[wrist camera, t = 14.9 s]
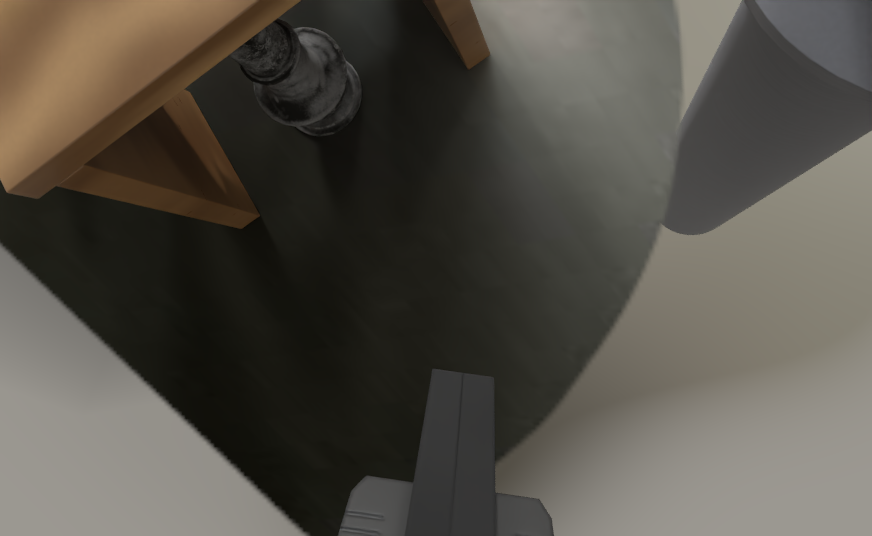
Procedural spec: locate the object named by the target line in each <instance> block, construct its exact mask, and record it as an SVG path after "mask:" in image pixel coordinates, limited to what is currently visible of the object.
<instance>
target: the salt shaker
mask: <svg viewBox="0 0 872 536" xmlns="http://www.w3.org/2000/svg"><path fill="white" fill-rule="evenodd" d="M228 56H230V57H231V58H232V59H234V60H235V61H237V62H238V63H239V65H240V68H241V70H242V71H243V73H244V74H245V76H246V77H247V78H249V79H250V80H251V81H252V82H254V92H255V95H256V98H257V101H258V103H259V105H260V106H261V108H262V109H263V111H264V112H265V113H266V114H267V115H268V116H270V117H271V118H272V119H273V120H275V121H277V122H279V123H282V124H284V125H289V126H295V127H297V128H298V129H299V130H300V131H302V132H304V133H306V134H309V135H313V136H327V135H332V134H334V133H336V132H339V131H341V130H342V129H343V128H344V127H346V126H347V125H348V124H349V123H350V122H351V121H352V119H353V118H354V117H355V116H356V113H357V111H358V109H359V107H360V103H361V98H362V86H361V82H360V79H359V76H358V74H357V72H356V71H355V69H354V68H353V66H352V65H351V64H349V63H348V62H347V61H346V60H345V57H344V54H343V51H342V50H341V48H340V47H339V45H338V44H337V42H336V41H335V40H334V39H333V38H331V37H330V36H329V35H328V34H326V33H325V32H322V31H320V30H317V29H315V28H306V27H301V28H295V29H293V28H292V27H291V26H290V25H289V24H288V23H286V22H285V21H282V20H280V19H276V20H275V21H273V22H272V23H271V24H269V25H268V26H267V27H265V28H264V29H263V30H261V31H260V32H259V33H257V34H256V35H255V36H253V37H252V38H251V39H249V40H248V41H247V42H245V43H244V44H243V45H241V46H240V47H239V48H237V49H236V50H235V51H233V52H232V53H231V54H230V55H228Z"/></svg>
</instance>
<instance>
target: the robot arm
mask: <svg viewBox="0 0 872 536" xmlns="http://www.w3.org/2000/svg"><path fill="white" fill-rule="evenodd" d="M338 536H554V534H553V526H552V519H551V517H550V515H549V514H548V512H547V511H546V509H545V508H544V506H543V504H542V503H541V501H540V500H539V499H534V498H528V497H521V496H514V495H507V494H500V493H495V421H494V377H489V376H482V375H474V374H467V373H460V372H453V371H446V370H439V369H432V375H431V381H430V387H429V393H428V399H427V405H426V411H425V417H424V423H423V429H422V435H421V441H420V447H419V453H418V459H417V465H416V471H415V477H414V482H407V481H400V480H394V479H387V478H380V477H373V476H365V477H364V478H363V479H362V480H361V481H360V482H359V484H358V485H357V486H356V487H355V488H354V489H353V490H352V491H351V493H350V497H349V500H348V504H347V507H346V510H345V514H344V517H343V520H342V524H341V528H340V530H339V534H338Z"/></svg>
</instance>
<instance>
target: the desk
mask: <svg viewBox="0 0 872 536" xmlns="http://www.w3.org/2000/svg"><path fill="white" fill-rule="evenodd" d="M300 1H301V0H0V180H1V182H2V184H3V186H4V188H5V190H6V192H7V193H10V194H15V195H20V196H25V197H30V198H35V199H39V198H40V197H42V196H43V195H44V194H46V193H47V192H48V191H50V190H51V189H52V188H54V187H55V186H58V187H62V188H67V189H71V190H75V191H80V192H84V193H88V194H93V195H97V196H101V197H105V198H110V199H114V200H118V201H123V202H127V203H131V204H136V205H140V206H144V207H149V208H153V209H157V210H161V211H166V212H170V213H174V214H179V215H183V216H187V217H192V218H196V219H200V220H205V221H209V222H213V223H217V224H222V225H226V226H230V227H235V228H239V229H242V228H243V227H245V226H246V225H248V224H249V223H251V222H252V221H253V220H255V219H256V218H258V217H259V216H260V214H259V213H258V211H257V209H256V207H255V206H254V204H253V202H252V200H251V198H250V197H249V195H248V193H247V191H246V190H245V188H244V186H243V184H242V183H241V181H240V179H239V177H238V176H237V174H236V172H235V170H234V169H233V167H232V165H231V163H230V162H229V160H228V158H227V156H226V155H225V153H224V151H223V149H222V148H221V146H220V144H219V142H218V141H217V139H216V137H215V135H214V134H213V132H212V130H211V128H210V126H209V125H208V123H207V121H206V119H205V118H204V116H203V114H202V112H201V111H200V109H199V107H198V105H197V104H196V102H195V100H194V98H193V97H192V95H191V93H190V92H188V91H186V90H184V89H185V88H186V87H187V86H188V85H190V84H191V83H192V82H194V81H195V80H196V79H198V78H199V77H200V76H202V75H203V74H204V73H206V72H207V71H208V70H210V69H211V68H212V67H214V66H215V65H216V64H218V63H219V62H220V61H222V60H223V59H224V58H226V57H227V56H228V55H230V54H231V53H232V52H233V51H235V50H236V49H237V48H239V47H240V46H241V45H243V44H244V43H245V42H247V41H248V40H249V39H251V38H252V37H253V36H255V35H256V34H257V33H259V32H260V31H261V30H263V29H264V28H265V27H267V26H268V25H269V24H271V23H272V22H273V21H275V20H276V19H277V18H278V17H280V16H281V15H282V14H284V13H285V12H286V11H288V10H289V9H290V8H292V7H293V6H294V5H296V4H297V3H298V2H300ZM422 1H423V2H424V4H425V5H426V7H427V8H428V10H429V11H430V13H431V14H432V16H433V17H434V19H435V20H436V22H437V23H438V25H439V26H440V28H441V29H442V31H443V32H444V34H445V35H446V37H447V38H448V40H449V41H450V43H451V44H452V46H453V47H454V49H455V50H456V52H457V54H458V55H459V57H460V58H461V60H462V61H463V63H464V64H465V66H466V67H467V69H468V70H469V69H470V68H472V67H473V66H475V65H476V64H478V63H479V62H480V61H482V60H483V59H485V58H486V57H488V56H489V55H490V52H489V49H488V47H487V44H486V41H485V39H484V36H483V33H482V31H481V28H480V25H479V23H478V20H477V18H476V15H475V12H474V10H473V7H472V4H471V2H470V0H422Z"/></svg>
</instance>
